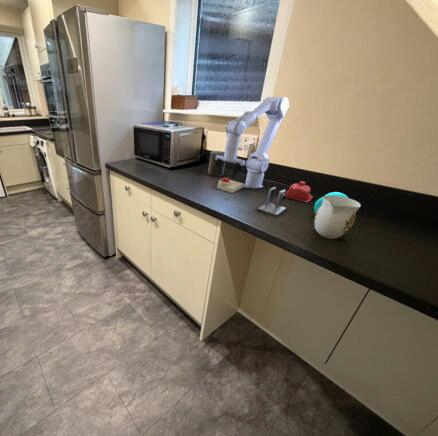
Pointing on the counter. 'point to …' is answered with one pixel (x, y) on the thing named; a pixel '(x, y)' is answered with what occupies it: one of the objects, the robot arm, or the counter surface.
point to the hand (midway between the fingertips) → (226, 176)
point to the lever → (275, 193)
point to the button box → (230, 185)
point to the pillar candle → (212, 164)
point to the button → (225, 179)
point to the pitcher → (335, 216)
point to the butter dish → (299, 192)
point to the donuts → (320, 201)
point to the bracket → (273, 208)
